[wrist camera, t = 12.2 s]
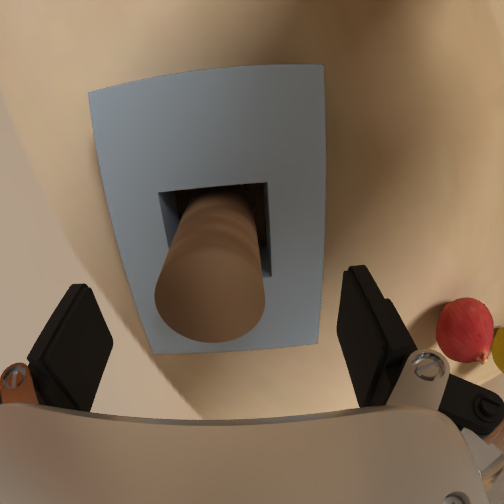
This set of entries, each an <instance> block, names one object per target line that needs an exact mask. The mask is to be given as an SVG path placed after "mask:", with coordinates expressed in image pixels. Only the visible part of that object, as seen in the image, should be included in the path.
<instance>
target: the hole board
mask: <svg viewBox="0 0 504 504" xmlns="http://www.w3.org/2000/svg"><path fill="white" fill-rule="evenodd" d="M88 96H89V105H90V112H91V120H92V126H93V133H94V139H95V145H96V151H97V157H98V162H99V167H100V172H101V177H102V182H103V187H104V192H105V196H106V201H107V205H108V209H109V214H110V218H111V222H112V226H113V230H114V234H115V237H116V241H117V245H118V249H119V252H120V256H121V259H122V263H123V266H124V270H125V273H126V276H127V279H128V283H129V286H130V289H131V292H132V295H133V298H134V301H135V304H136V307H137V310H138V313H139V316H140V319H141V322H142V325H143V328H144V330H145V333H146V336H147V339H148V341H149V344H150V347H151V349H152V352H153V354H188V353H214V352H232V351H247V350H260V349H272V348H282V347H292V346H301V345H310V344H317V343H318V332H319V321H320V308H321V295H322V279H323V261H324V240H325V209H326V118H325V89H324V68H323V64H270V65H249V66H235V67H224V68H214V69H205V70H197V71H189V72H182V73H176V74H170V75H164V76H158V77H153V78H147V79H142V80H138V81H133V82H128V83H124V84H120V85H116V86H111V87H107V88H104V89H100V90H96V91H92V92H89V93H88ZM249 183H263V189H264V207H265V225H266V244H267V246H259V254H260V261H261V269H262V277H263V285H264V292H265V309H264V312H263V315H262V317H261V319H260V321H259V322H258V323H257V325H256V326H255V327H254V328H253V329H252V330H251V331H249V332H248V333H247V334H245V335H243V336H242V337H239V338H237V339H234V340H231V341H227V342H221V343H205V342H199V341H195V340H191V339H189V338H186V337H184V336H182V335H180V334H178V333H177V332H175V331H174V330H172V329H171V328H170V327H169V326H168V325H167V324H166V323H165V322H164V321H163V319H162V318H161V316H160V315H159V313H158V311H157V308H156V305H155V299H154V293H155V287H156V283H157V281H158V278H159V275H160V272H161V270H162V267H163V264H164V262H165V259H166V256H167V254H168V251H169V249H170V246H171V243H172V241H173V238H174V236H175V233H176V231H177V228H178V226H179V223H180V221H179V215H178V209H177V202H176V196H175V191H176V190H185V189H194V188H204V187H214V186H225V185H237V184H249Z"/></svg>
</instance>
